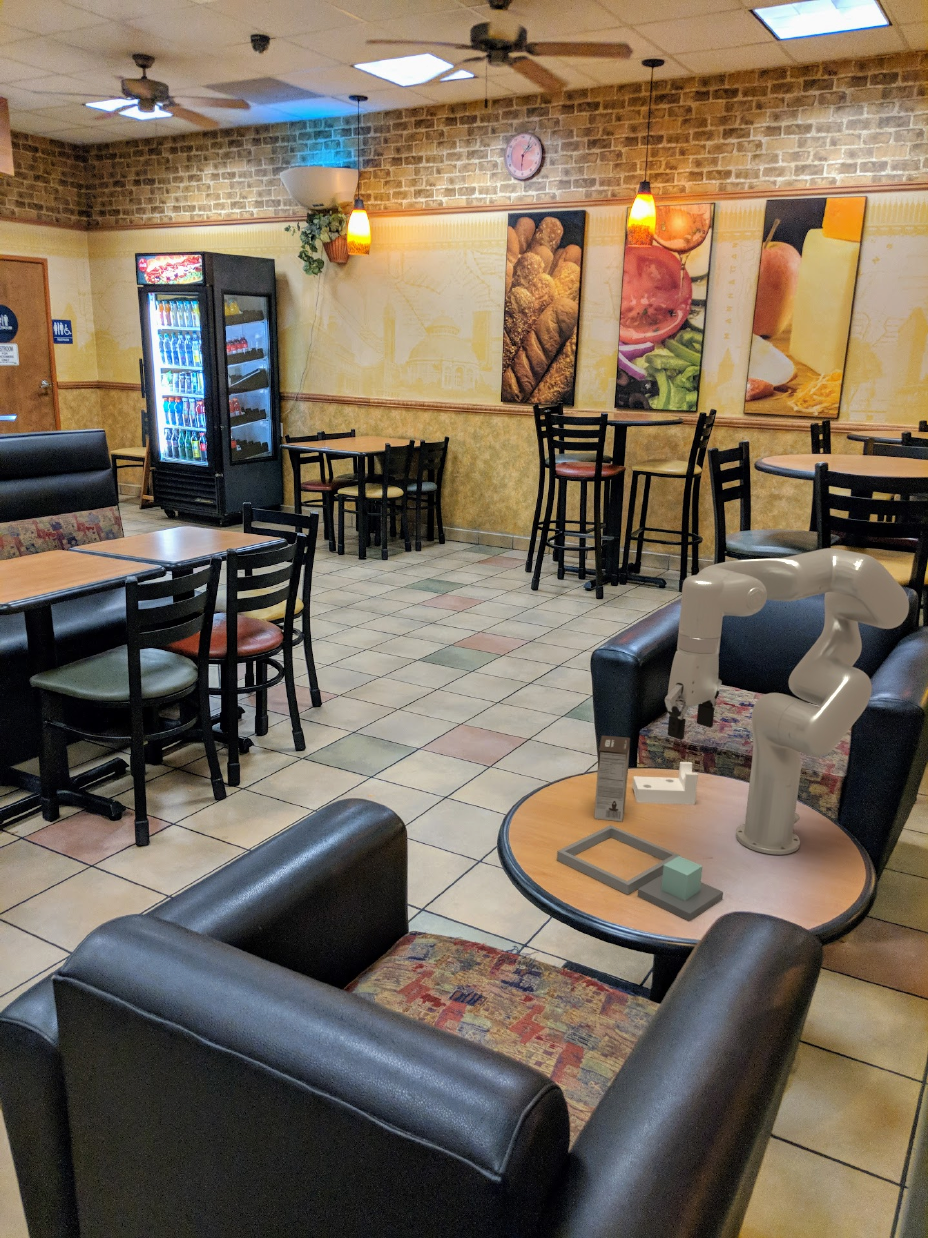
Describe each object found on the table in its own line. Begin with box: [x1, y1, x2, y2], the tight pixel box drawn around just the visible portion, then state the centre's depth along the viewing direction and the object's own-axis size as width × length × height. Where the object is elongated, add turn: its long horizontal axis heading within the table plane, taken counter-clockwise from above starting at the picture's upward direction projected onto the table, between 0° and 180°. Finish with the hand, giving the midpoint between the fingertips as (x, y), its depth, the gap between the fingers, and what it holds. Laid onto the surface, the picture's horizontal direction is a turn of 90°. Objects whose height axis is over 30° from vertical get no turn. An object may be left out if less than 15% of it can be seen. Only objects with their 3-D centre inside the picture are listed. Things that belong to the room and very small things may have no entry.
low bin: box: [556, 824, 681, 895], centre depth 185 cm, size 17×17×2 cm
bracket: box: [632, 761, 699, 806], centre depth 214 cm, size 13×7×8 cm, turn 88°
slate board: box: [636, 874, 724, 922], centre depth 173 cm, size 11×11×2 cm
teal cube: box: [661, 855, 703, 900], centre depth 172 cm, size 5×5×5 cm
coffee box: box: [594, 735, 631, 823], centre depth 205 cm, size 9×6×16 cm
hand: (690, 731), depth 177 cm, fingers open, 9 cm apart
